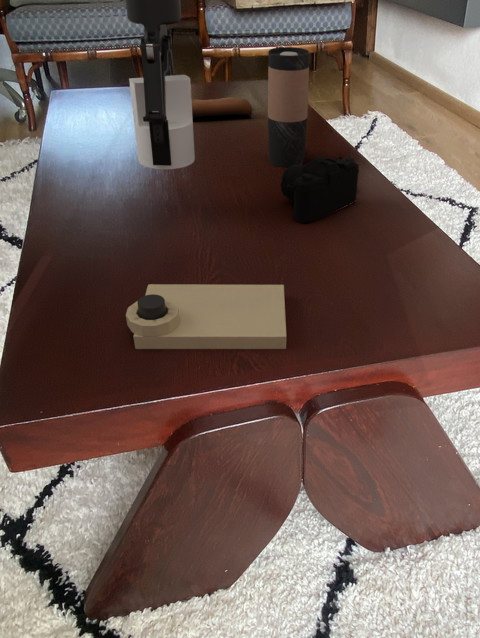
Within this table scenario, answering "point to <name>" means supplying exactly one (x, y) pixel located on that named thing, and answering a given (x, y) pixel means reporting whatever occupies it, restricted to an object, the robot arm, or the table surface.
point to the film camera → (320, 187)
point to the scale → (213, 318)
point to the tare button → (151, 307)
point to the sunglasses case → (220, 107)
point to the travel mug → (287, 105)
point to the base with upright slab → (177, 122)
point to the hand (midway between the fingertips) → (166, 153)
